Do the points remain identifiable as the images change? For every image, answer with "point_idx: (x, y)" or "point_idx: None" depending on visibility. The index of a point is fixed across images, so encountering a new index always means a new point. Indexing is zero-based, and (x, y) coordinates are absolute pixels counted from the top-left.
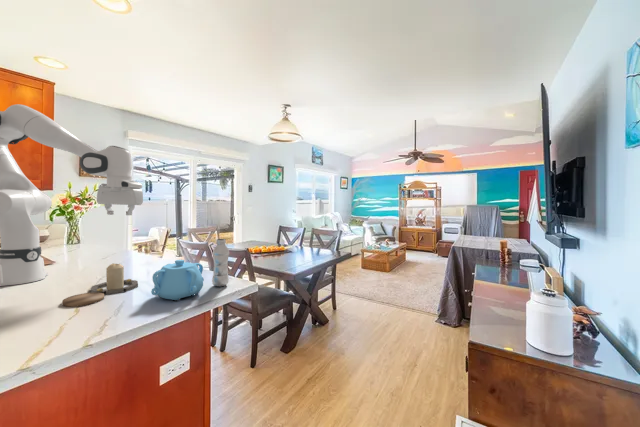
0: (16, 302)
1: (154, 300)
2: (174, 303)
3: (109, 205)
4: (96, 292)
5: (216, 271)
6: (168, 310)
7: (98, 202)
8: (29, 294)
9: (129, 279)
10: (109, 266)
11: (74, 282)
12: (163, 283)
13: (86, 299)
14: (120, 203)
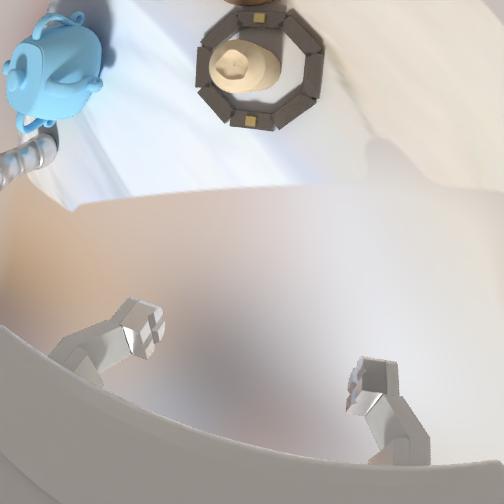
0: None
1: (100, 25)
2: None
3: (379, 463)
4: (252, 2)
5: (22, 144)
6: (60, 5)
7: (496, 473)
8: (458, 19)
9: (247, 119)
10: (241, 46)
11: (441, 131)
12: (51, 26)
13: None
14: (131, 415)
